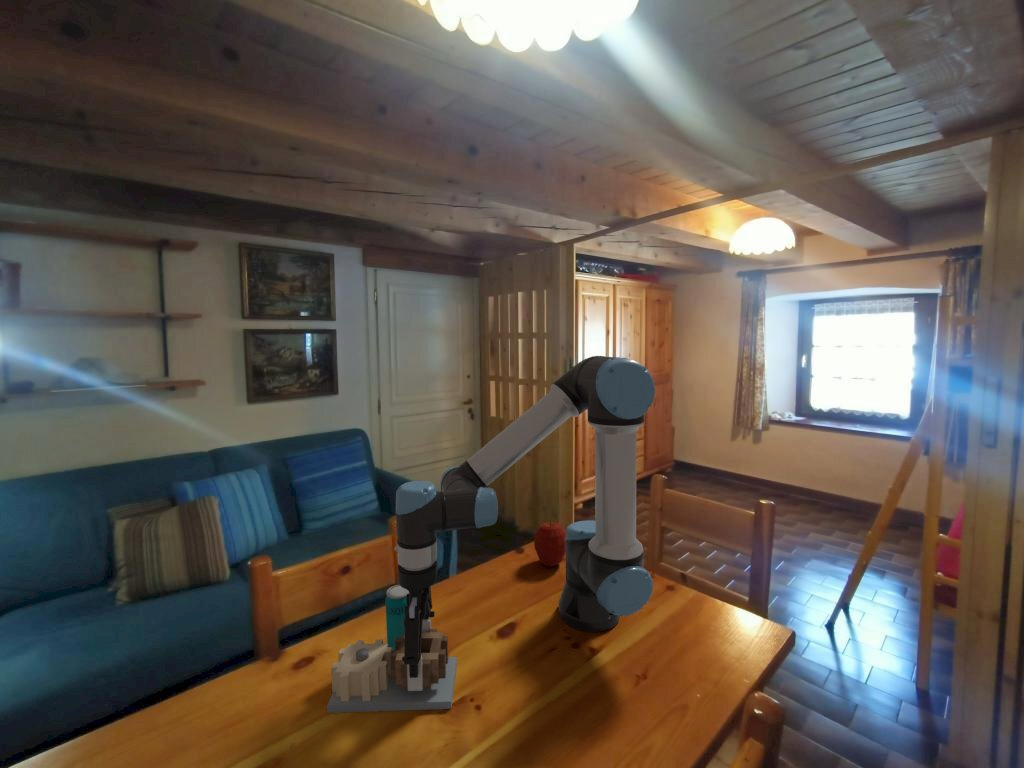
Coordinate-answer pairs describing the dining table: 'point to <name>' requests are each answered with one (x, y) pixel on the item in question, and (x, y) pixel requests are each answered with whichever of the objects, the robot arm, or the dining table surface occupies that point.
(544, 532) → the apple
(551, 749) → the dining table surface
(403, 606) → the beverage can
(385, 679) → the gear board
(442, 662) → the walnut gear
